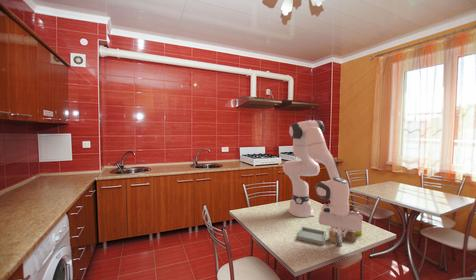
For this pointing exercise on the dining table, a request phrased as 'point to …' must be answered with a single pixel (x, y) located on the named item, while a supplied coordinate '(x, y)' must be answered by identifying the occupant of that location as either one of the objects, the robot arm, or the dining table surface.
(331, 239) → the oak block
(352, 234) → the brown square socket box
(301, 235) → the tray
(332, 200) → the robot arm
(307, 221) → the dining table surface
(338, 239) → the cylinder
